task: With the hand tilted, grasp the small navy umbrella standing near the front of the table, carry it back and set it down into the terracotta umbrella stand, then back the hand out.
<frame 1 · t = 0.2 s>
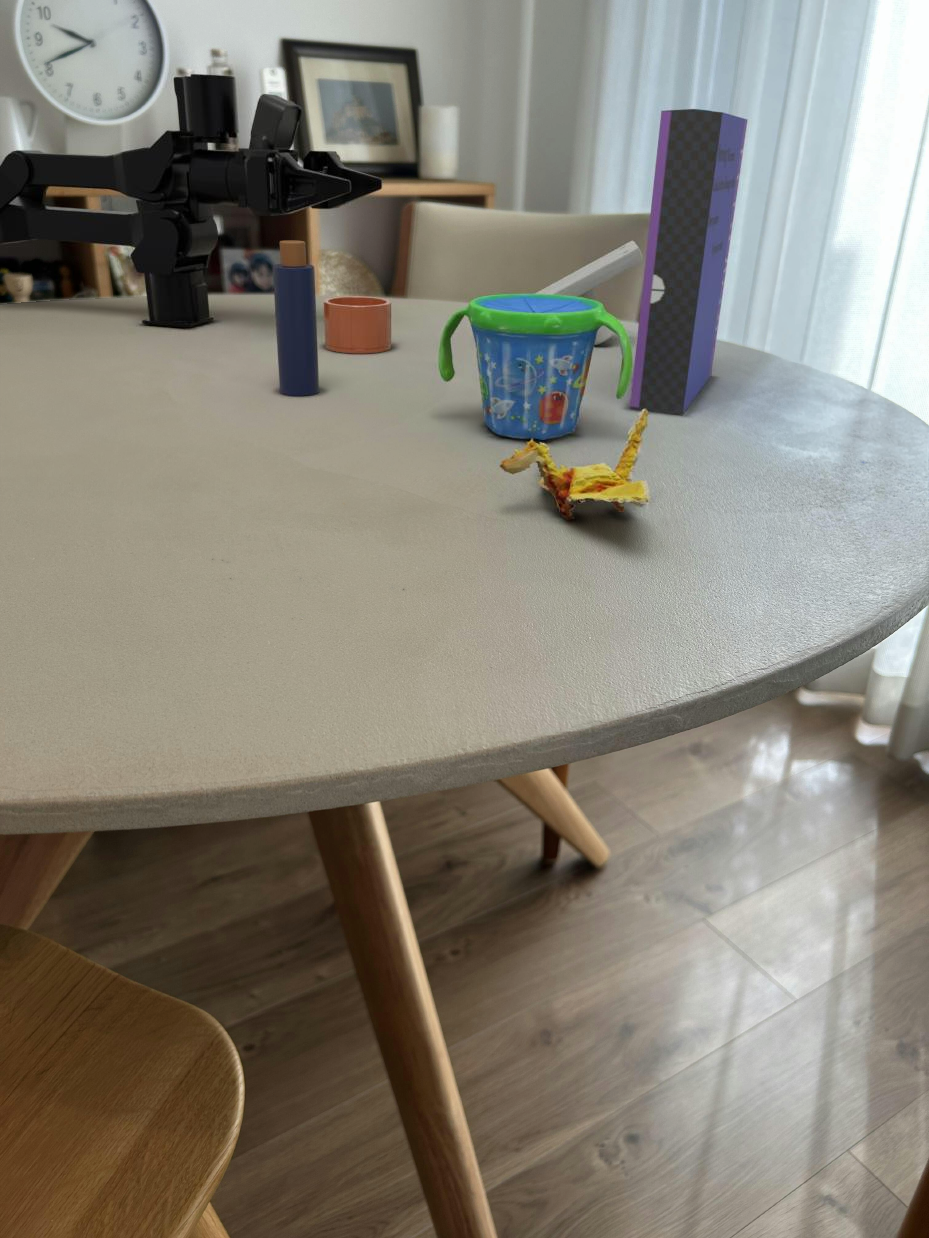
hand: (366, 185, 105), 17 cm above the table, tool horizontal, fingers open, 9 cm apart
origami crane: (588, 516, 62), on the table
snack cup: (529, 432, 79), on the table
umbrella stand: (358, 347, 108), on the table
door handle: (552, 337, 119), on the table
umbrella: (299, 391, 89), on the table
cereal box: (672, 394, 93), on the table
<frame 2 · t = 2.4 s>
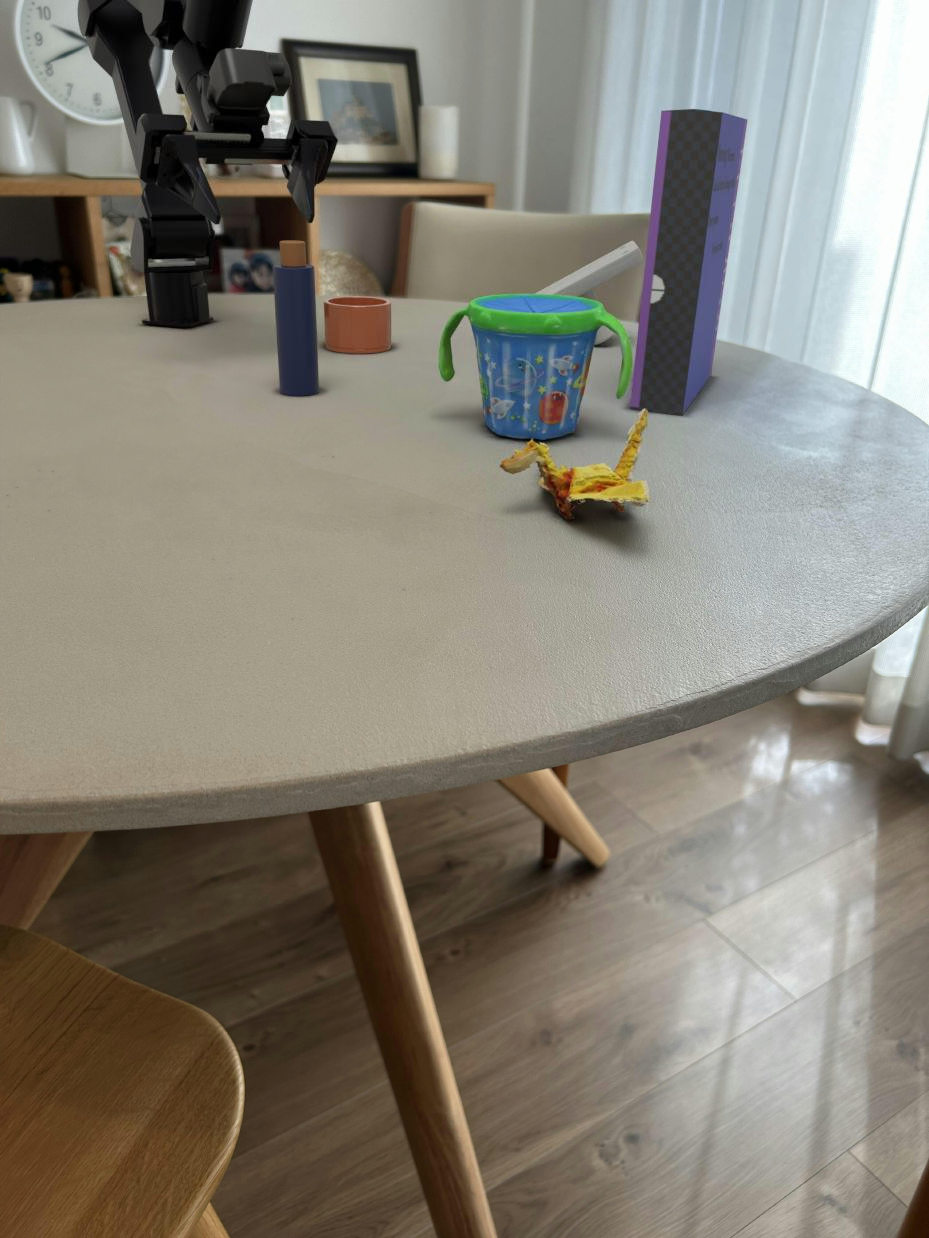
hand: (266, 220, 89), 14 cm above the table, tool tilted 45°, fingers open, 9 cm apart
nothing on the table moved.
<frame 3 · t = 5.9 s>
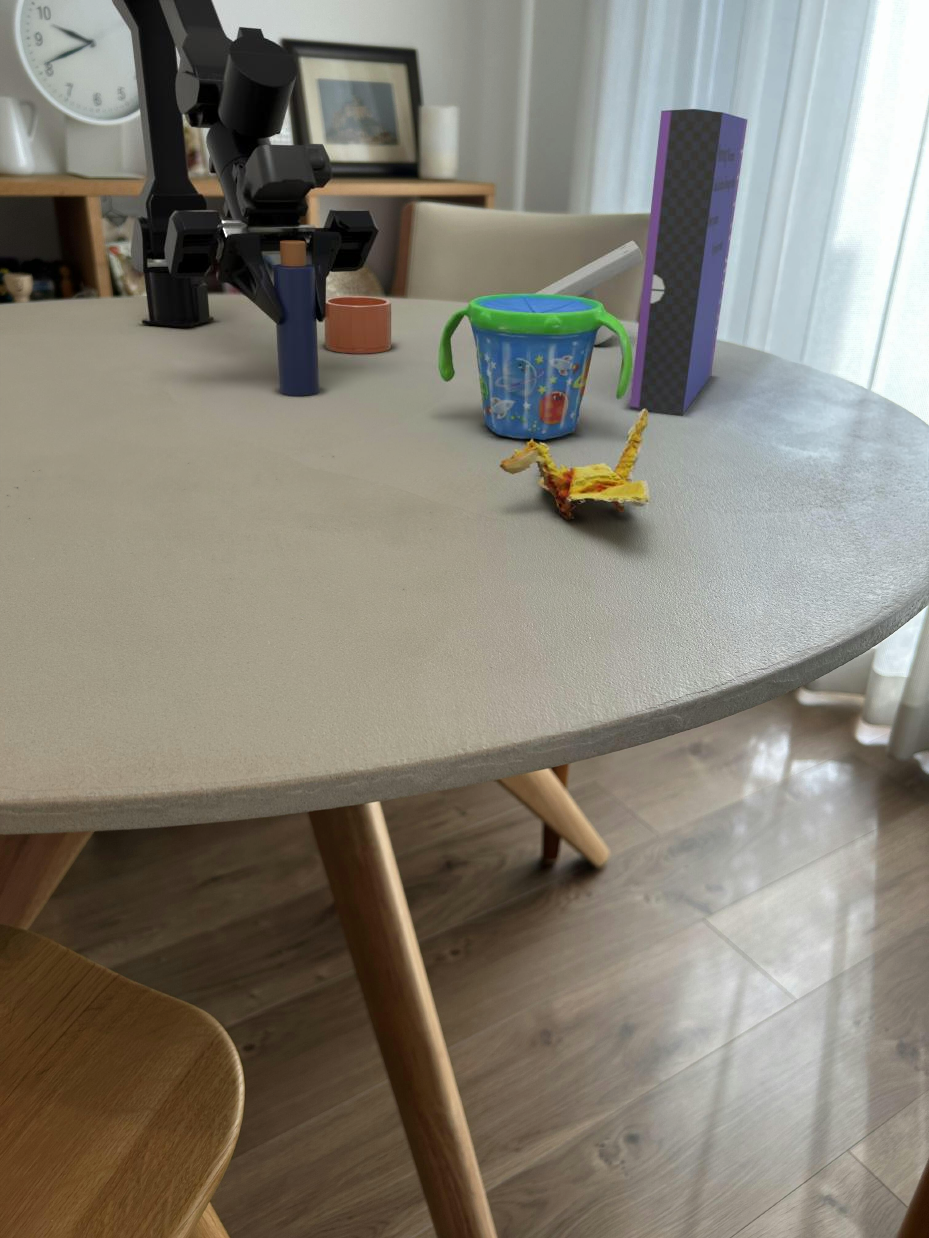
hand: (301, 320, 85), 7 cm above the table, tool tilted 45°, fingers closed on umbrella, 3 cm apart
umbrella: (299, 391, 89), on the table, touching gripper
everything else where it was.
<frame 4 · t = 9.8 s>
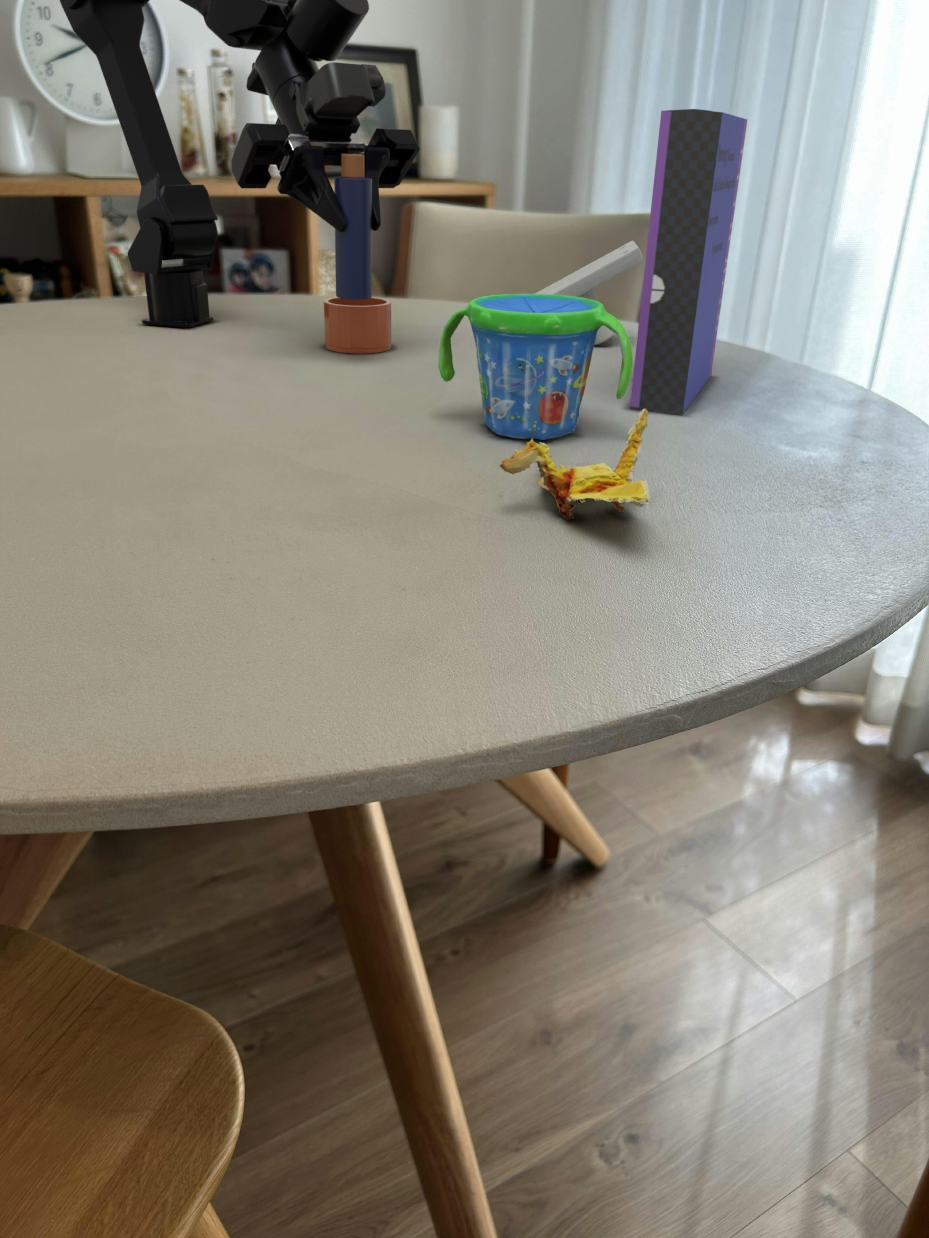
hand: (360, 228, 93), 13 cm above the table, tool tilted 45°, fingers closed on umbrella, 3 cm apart
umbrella: (353, 296, 97), point 7 cm above the table, touching gripper
everything else where it was.
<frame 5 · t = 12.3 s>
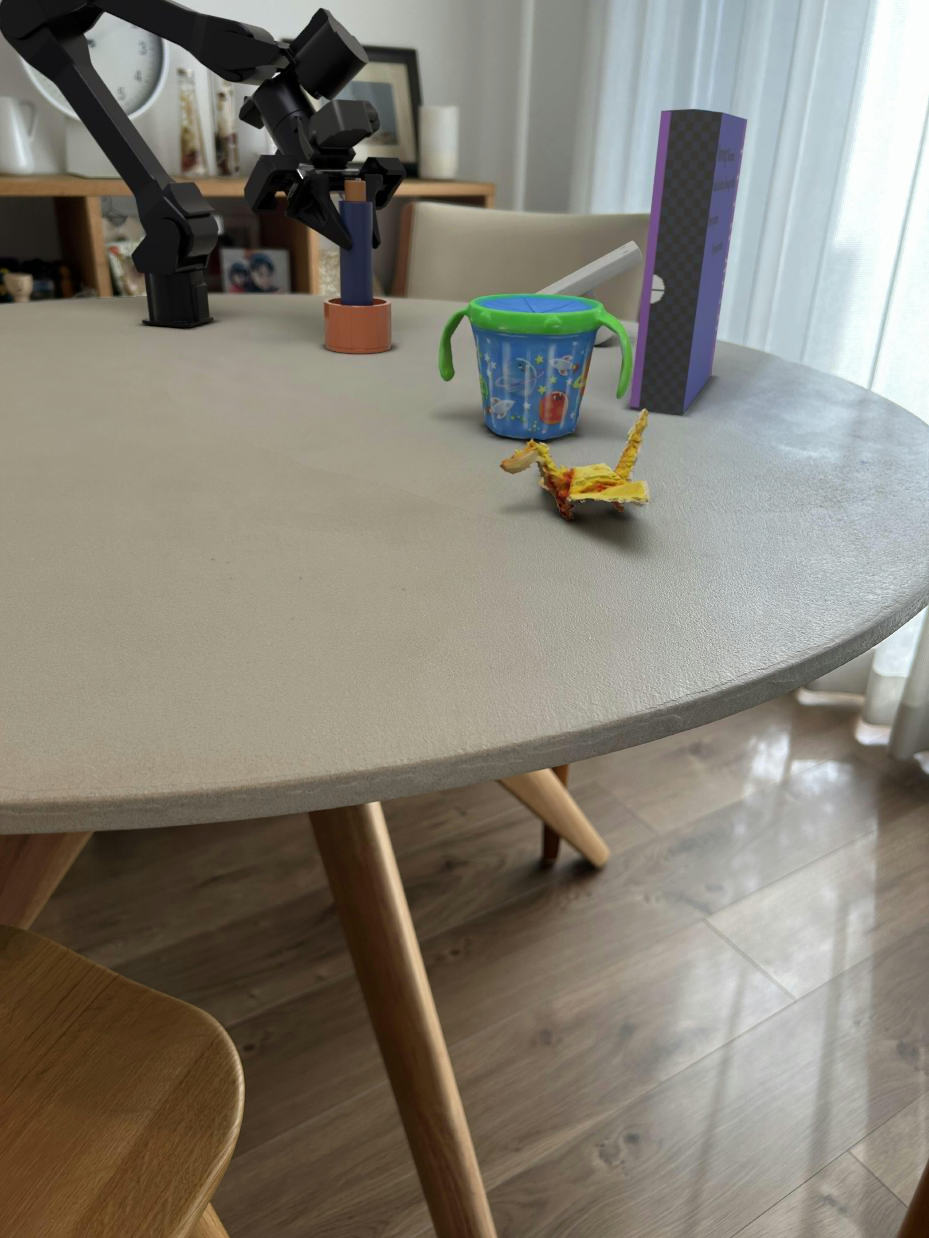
hand: (364, 247, 103), 11 cm above the table, tool tilted 45°, fingers closed on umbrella, 3 cm apart
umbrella: (357, 309, 107), point 4 cm above the table, touching gripper
everything else where it was.
when the fingers open (7 cm above the table, at t = 13.8 s): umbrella stays where it is, resting on umbrella stand.
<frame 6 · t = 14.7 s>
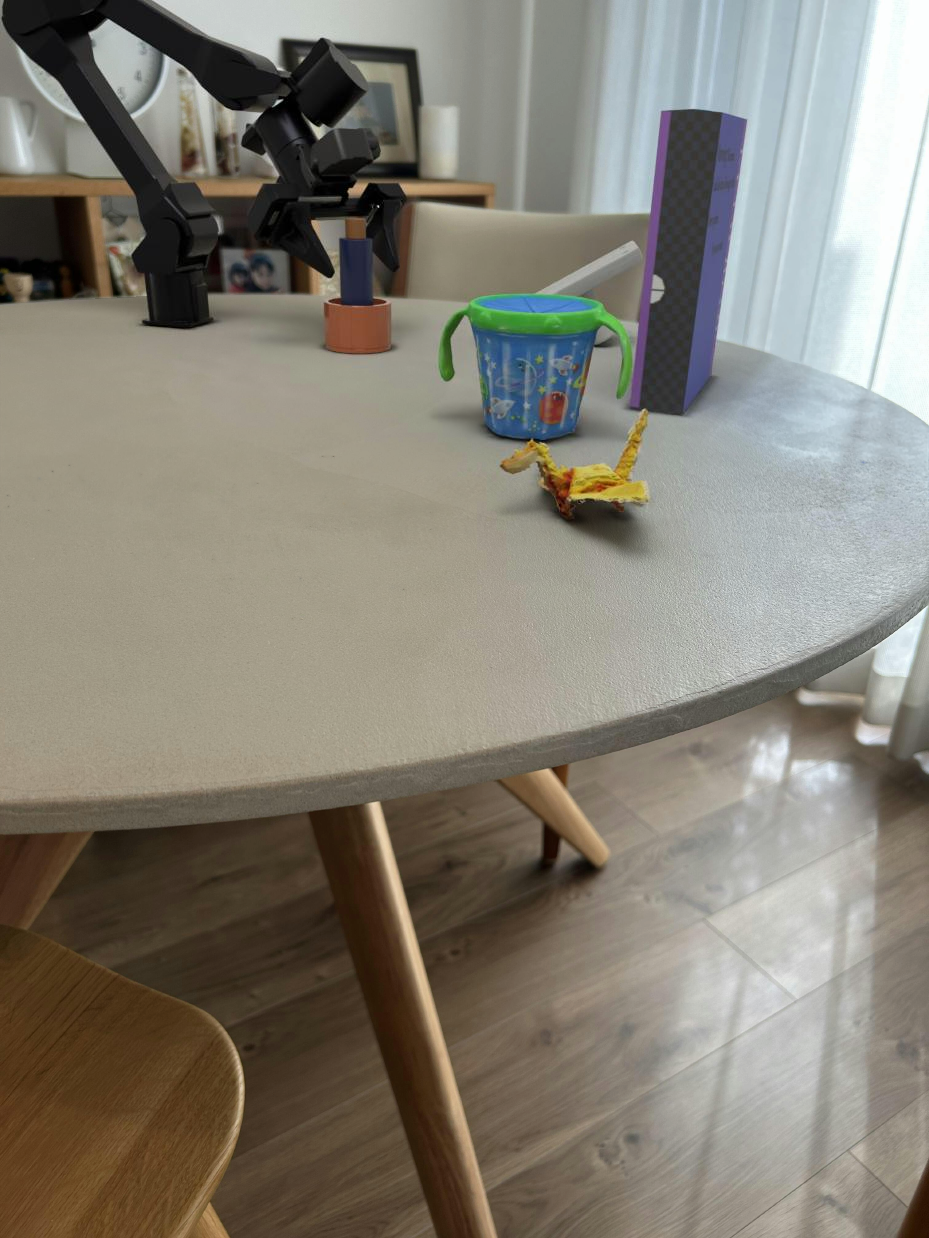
hand: (365, 272, 104), 8 cm above the table, tool tilted 45°, fingers open, 9 cm apart
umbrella: (357, 342, 108), resting on umbrella stand
everything else where it was.
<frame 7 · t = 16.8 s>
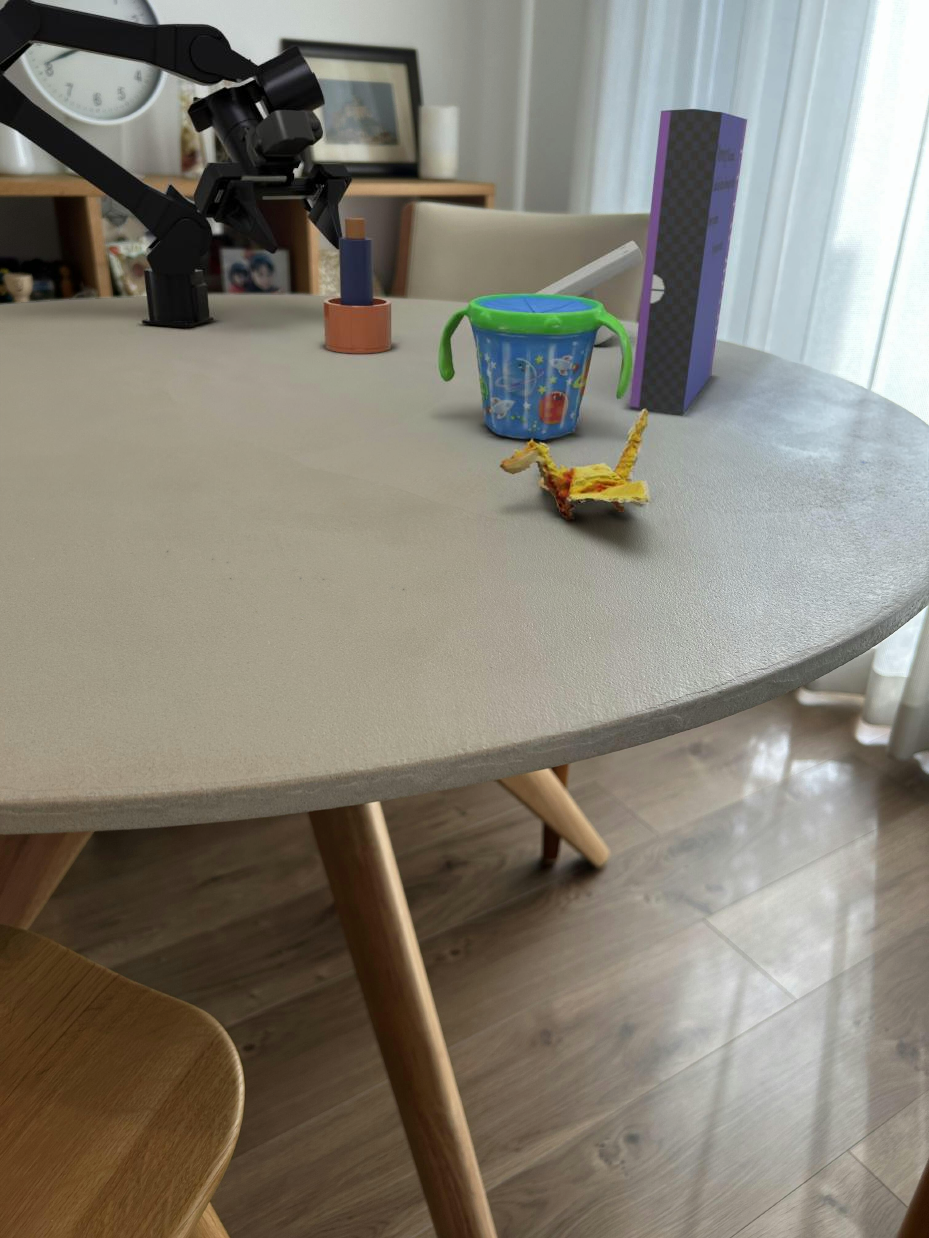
hand: (308, 249, 109), 10 cm above the table, tool tilted 45°, fingers open, 9 cm apart
nothing on the table moved.
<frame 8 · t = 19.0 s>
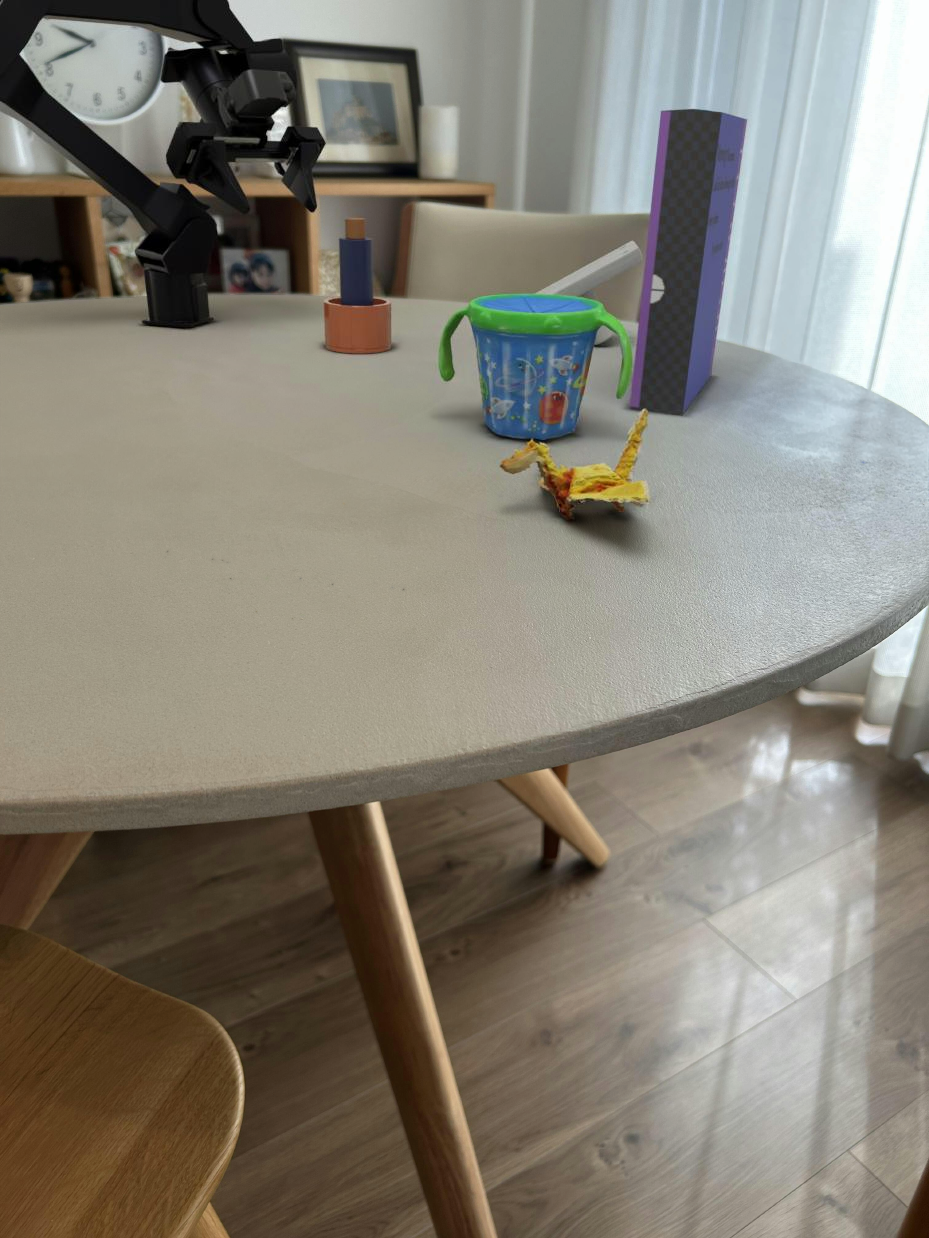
hand: (282, 211, 109), 14 cm above the table, tool tilted 45°, fingers open, 9 cm apart
nothing on the table moved.
at the end: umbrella 0.1 cm off-centre in the umbrella stand, point 0.5 cm above the umbrella stand's base; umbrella tilted 0°; the gripper is holding nothing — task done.
